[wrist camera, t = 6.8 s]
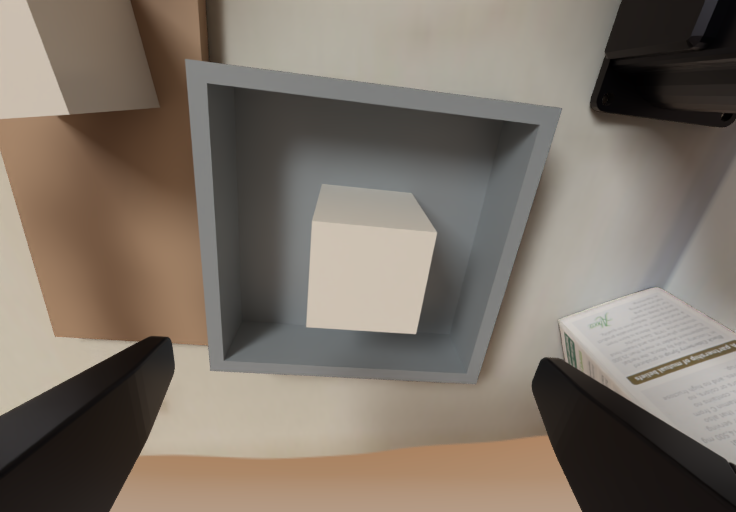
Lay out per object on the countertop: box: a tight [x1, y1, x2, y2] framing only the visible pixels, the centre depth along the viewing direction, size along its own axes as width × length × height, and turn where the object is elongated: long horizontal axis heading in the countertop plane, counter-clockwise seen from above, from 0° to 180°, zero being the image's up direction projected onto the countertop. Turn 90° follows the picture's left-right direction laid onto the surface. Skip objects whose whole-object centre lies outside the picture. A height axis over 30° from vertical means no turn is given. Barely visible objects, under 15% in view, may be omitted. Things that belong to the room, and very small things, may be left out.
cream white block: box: [0, 0, 160, 119], centre depth 11 cm, size 4×4×5 cm
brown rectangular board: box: [0, 0, 209, 345], centre depth 15 cm, size 8×16×1 cm, turn 173°
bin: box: [185, 59, 562, 384], centre depth 16 cm, size 12×12×4 cm
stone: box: [306, 184, 437, 334], centre depth 14 cm, size 4×4×5 cm
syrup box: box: [558, 287, 736, 465], centre depth 14 cm, size 6×6×14 cm
